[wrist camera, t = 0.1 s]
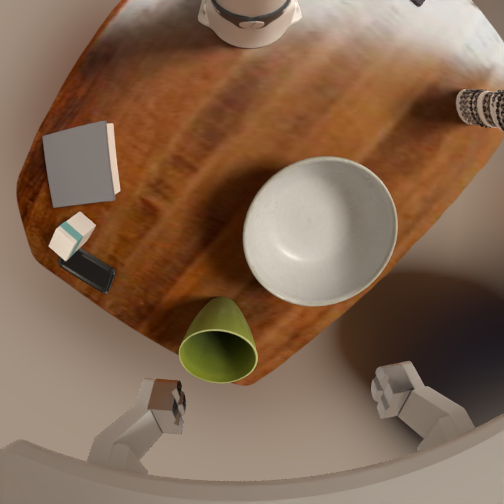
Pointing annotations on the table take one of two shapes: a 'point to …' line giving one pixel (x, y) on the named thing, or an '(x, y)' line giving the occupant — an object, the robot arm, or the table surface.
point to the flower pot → (219, 344)
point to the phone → (89, 270)
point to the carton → (71, 235)
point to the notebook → (418, 2)
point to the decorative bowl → (320, 231)
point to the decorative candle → (481, 107)
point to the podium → (82, 164)
